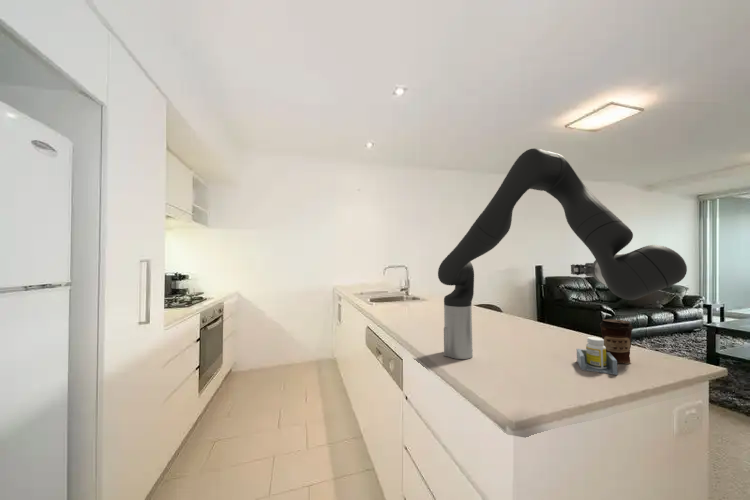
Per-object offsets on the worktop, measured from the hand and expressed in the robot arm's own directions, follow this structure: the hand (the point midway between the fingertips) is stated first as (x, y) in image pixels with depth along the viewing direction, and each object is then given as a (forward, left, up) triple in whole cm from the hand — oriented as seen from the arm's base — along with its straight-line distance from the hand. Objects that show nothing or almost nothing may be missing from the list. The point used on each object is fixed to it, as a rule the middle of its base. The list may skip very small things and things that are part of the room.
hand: (600, 269), depth 77 cm
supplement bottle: (+2, +11, -30) cm, 32 cm away
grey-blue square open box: (+2, +11, -30) cm, 32 cm away
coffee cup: (+11, +20, -30) cm, 38 cm away
